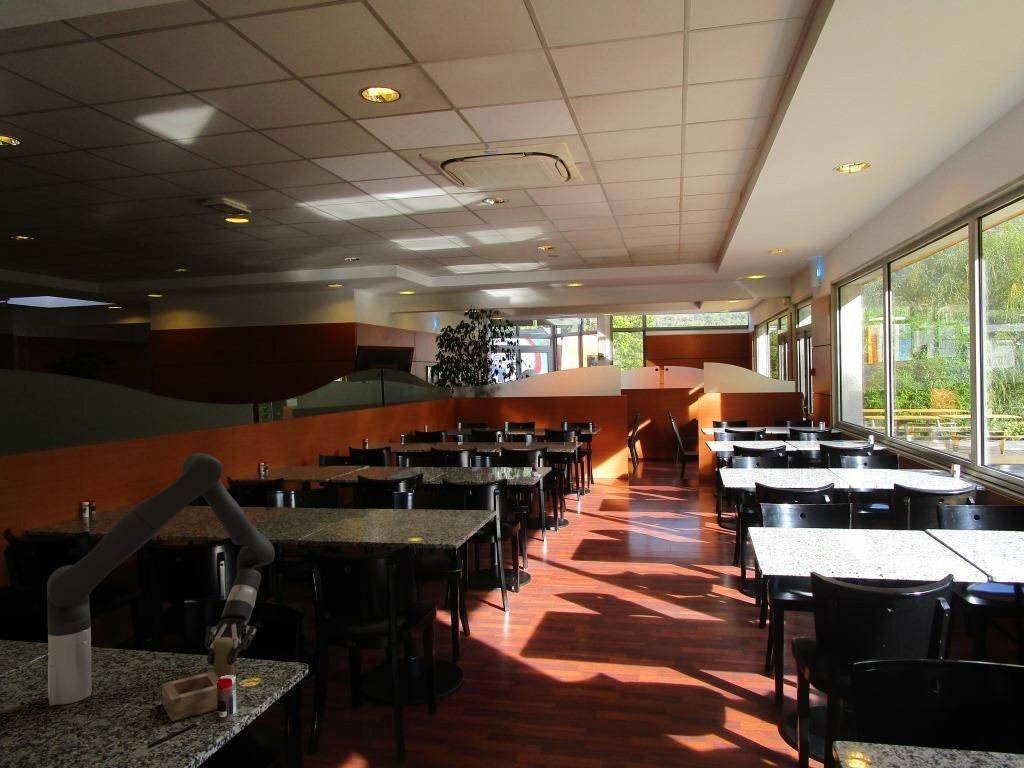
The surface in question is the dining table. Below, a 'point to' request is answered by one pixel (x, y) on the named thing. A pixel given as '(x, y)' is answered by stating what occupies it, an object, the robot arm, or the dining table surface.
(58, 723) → the dining table surface
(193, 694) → the wooden box
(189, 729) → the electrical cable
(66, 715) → the dining table surface
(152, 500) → the robot arm
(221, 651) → the cork
